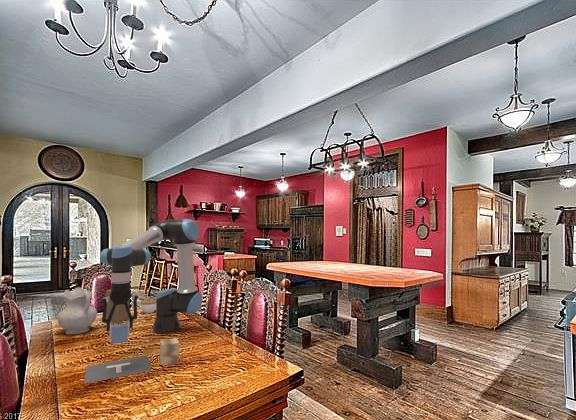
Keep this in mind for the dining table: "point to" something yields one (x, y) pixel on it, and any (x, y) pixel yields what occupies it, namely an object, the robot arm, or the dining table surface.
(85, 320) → the ceramic pitcher
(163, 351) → the maple block
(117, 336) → the blue cube
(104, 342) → the dining table surface
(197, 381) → the dining table surface
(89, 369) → the board
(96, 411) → the dining table surface
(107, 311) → the wooden block
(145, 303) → the lidded jar
